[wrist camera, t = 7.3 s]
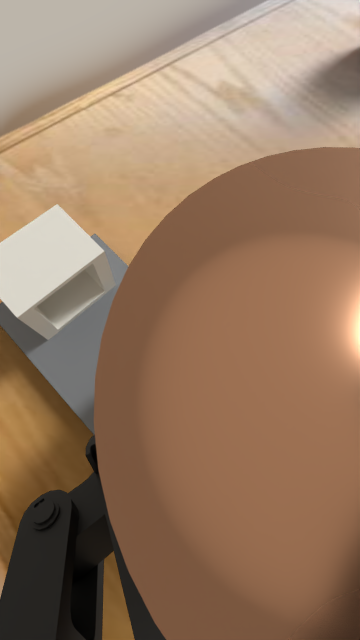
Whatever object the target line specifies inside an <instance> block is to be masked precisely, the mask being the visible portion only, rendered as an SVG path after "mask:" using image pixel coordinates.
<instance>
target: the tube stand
mask: <svg viewBox="0 0 360 640" xmlns="http://www.w3.org/2000/svg"><path fill="white" fill-rule="evenodd" d="M127 268H128V266H127V265H126V264H125V263H124V262H123V261H122V260H121V259H120V258H119V257H118V256H117V255H116V254H115V253H114V252H113V251H112V250H111V249H110V248H109V247H108V246H107V245H106V244H105V243H104V242H103V241H102V240H101V239H100V238H99V237H98V236H97V235H96V234H94V235H92V236H91V237H90V236H89V235H88V234H87V233H86V232H85V231H84V230H83V229H82V228H81V227H80V226H79V225H78V224H77V223H76V222H75V221H74V220H73V219H72V218H71V217H70V216H69V215H68V214H67V213H66V212H65V211H64V210H63V209H62V208H61V207H60V206H59V205H58V204H57V205H55V206H54V207H52V208H51V209H49V210H48V211H46V212H45V213H43V214H42V215H40V216H39V217H38V218H36V219H35V220H33V221H32V222H30V223H29V224H27V225H26V226H24V227H23V228H21V229H20V230H18V231H17V232H15V233H14V234H12V235H11V236H10V237H8V238H7V239H5V240H4V241H2V242H1V243H0V299H1V300H2V301H3V302H2V303H0V325H1V326H2V328H3V329H4V330H5V331H6V332H7V334H8V335H9V336H10V337H11V338H12V339H13V341H14V342H15V343H16V344H17V345H18V346H19V348H20V349H21V350H22V351H23V352H24V353H25V355H26V356H27V357H28V358H29V359H30V361H31V362H32V363H33V364H34V365H35V366H36V368H37V369H38V370H39V371H40V372H41V373H42V375H43V376H44V377H45V378H46V379H47V380H48V382H49V383H50V384H51V385H52V386H53V387H54V389H55V390H56V391H57V392H58V393H59V395H60V396H61V397H62V398H63V399H64V400H65V402H66V403H67V404H68V405H69V406H70V407H71V409H72V410H73V411H74V412H75V413H76V414H77V416H78V417H79V418H80V419H81V420H82V421H83V423H84V424H85V425H86V426H87V427H88V429H89V430H90V431H91V432H92V433H93V434H95V430H94V395H95V375H96V369H97V362H98V356H99V350H100V344H101V338H102V334H103V331H104V328H105V324H106V321H107V318H108V314H109V311H110V308H111V304H112V301H113V299H114V297H115V294H116V292H117V290H118V288H119V286H120V283H121V281H122V279H123V277H124V275H125V273H126V270H127Z"/></svg>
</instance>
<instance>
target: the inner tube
mask: <svg viewBox="0 0 360 640" xmlns="http://www.w3.org/2000/svg"><path fill="white" fill-rule="evenodd" d="M94 430H95V441H96V451H97V461H98V470H99V475H100V479H101V484H102V488H103V492H104V497H105V501H106V505H107V510H108V514H109V519H110V522H111V525H112V527H113V530H114V533H115V536H116V538H117V541H118V544H119V547H120V549H121V552H122V555H123V558H124V560H125V563H126V566H127V569H128V571H129V573H130V575H131V577H132V579H133V581H134V583H135V585H136V587H137V589H138V591H139V593H140V595H141V597H142V599H143V601H144V603H145V605H146V607H147V609H148V611H149V613H150V615H151V616H152V618H153V620H154V622H155V624H156V625H157V627H158V628H159V630H160V631H161V633H162V634H163V636H164V637H165V639H166V640H360V148H333V147H323V148H313V149H303V150H294V151H289V152H285V153H280V154H276V155H271V156H267V157H264V158H261V159H258V160H255V161H252V162H249V163H247V164H244V165H241V166H238V167H236V168H234V169H232V170H230V171H228V172H226V173H224V174H222V175H220V176H218V177H216V178H214V179H213V180H211V181H210V182H208V183H207V184H205V185H204V186H202V187H201V188H199V189H198V190H196V191H195V192H193V193H192V194H190V195H189V196H188V197H187V198H186V199H184V200H183V201H182V202H181V203H180V204H179V205H178V206H177V207H175V208H174V209H173V210H172V211H171V212H170V213H169V214H168V215H166V217H165V218H164V219H163V220H162V221H161V222H160V224H159V225H158V226H157V227H156V228H155V229H154V231H153V232H152V233H151V234H150V235H149V236H148V238H147V239H146V240H145V242H144V243H143V245H142V246H141V248H140V249H139V251H138V253H137V254H136V256H135V257H134V259H133V260H132V262H131V264H130V265H129V267H128V268H127V270H126V273H125V275H124V277H123V279H122V281H121V283H120V286H119V288H118V290H117V292H116V294H115V297H114V299H113V301H112V304H111V308H110V311H109V314H108V318H107V321H106V324H105V328H104V331H103V334H102V338H101V344H100V350H99V356H98V362H97V369H96V375H95V395H94Z"/></svg>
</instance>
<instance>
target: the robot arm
mask: <svg viewBox="0 0 360 640" xmlns="http://www.w3.org/2000/svg"><path fill="white" fill-rule="evenodd" d="M86 457H87V459H88V461H89V462H90V464H91V466H92V468H93V470H94V472H93V473H92V475H91V476H90V477H89V478H88V479H87V480H86V481H84V482H83V483H82V484H81V485H79V486H78V487H76V488H75V489H74V490H72V491H71V492H69V493H68V494H67V492H64V491H62V490H54V491H49V492H47V493H45V494H43V495H41V496H40V497H39V498H37V499H36V500H35V501H34V502H32V503H31V505H30V506H29V507H28V509H27V510H26V511H25V513H24V515H23V517H22V519H21V522H20V525H19V529H18V532H17V536H16V540H15V544H14V548H13V552H12V555H11V559H10V563H9V567H8V571H7V575H6V579H5V583H4V586H3V590H2V594H1V598H0V640H102V619H103V574H104V559H105V558H106V557H107V556H108V555H109V554H110V553H112V552H113V551H114V553H115V558H116V562H117V566H118V570H119V575H120V579H121V583H122V587H123V592H124V596H125V600H126V604H127V608H128V613H129V617H130V621H131V625H132V630H133V634H134V638H135V640H166V639H165V637H164V636H163V634H162V633H161V631H160V630H159V628H158V627H157V625H156V624H155V622H154V620H153V618H152V616H151V615H150V613H149V611H148V609H147V607H146V605H145V603H144V601H143V599H142V597H141V595H140V593H139V591H138V589H137V587H136V585H135V583H134V581H133V579H132V577H131V575H130V573H129V571H128V569H127V566H126V563H125V560H124V558H123V555H122V552H121V549H120V547H119V544H118V541H117V538H116V536H115V533H114V530H113V527H112V525H111V522H110V519H109V514H108V510H107V505H106V501H105V497H104V492H103V488H102V484H101V479H100V475H99V470H98V461H97V451H96V441H95V434H94V435H93V437H92V438H91V439H90V440H89V442H88V444H87V446H86Z"/></svg>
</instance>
